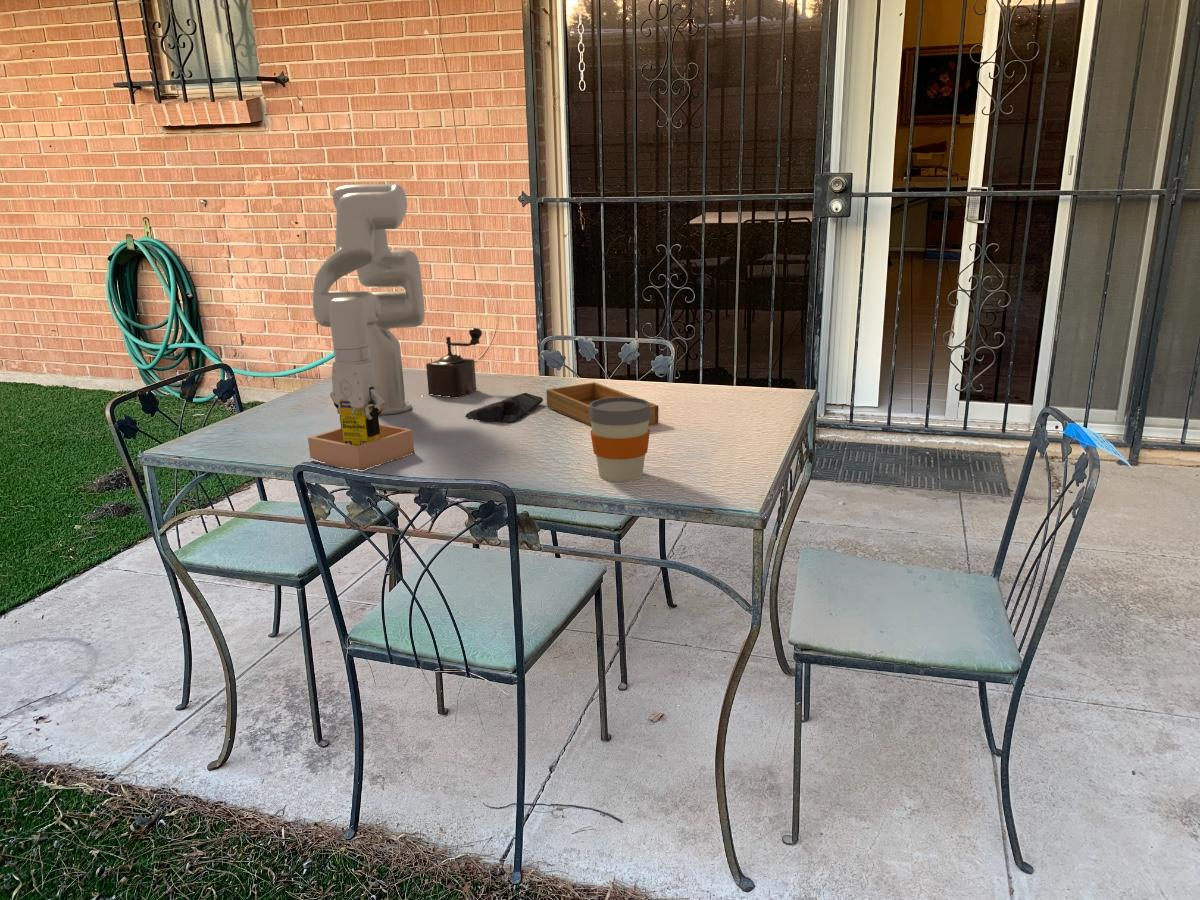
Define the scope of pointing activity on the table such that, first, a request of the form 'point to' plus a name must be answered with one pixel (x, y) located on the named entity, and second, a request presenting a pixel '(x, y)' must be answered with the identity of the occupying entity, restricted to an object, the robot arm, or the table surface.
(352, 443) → the supplement box
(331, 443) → the planter box
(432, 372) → the manual coffee grinder
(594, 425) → the reusable coffee cup
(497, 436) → the table surface
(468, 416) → the dark slate chunk
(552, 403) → the tray
